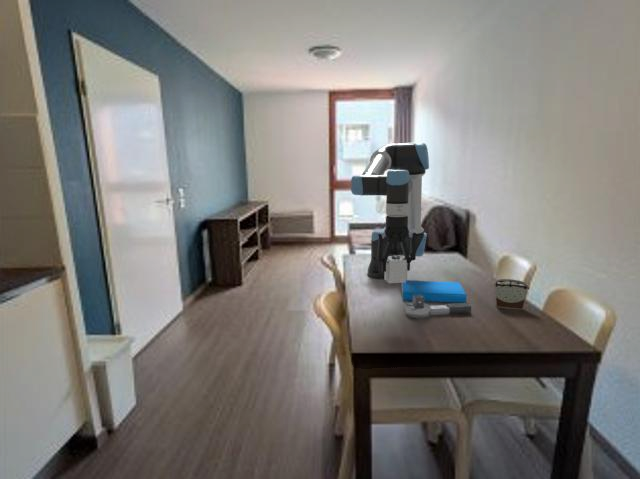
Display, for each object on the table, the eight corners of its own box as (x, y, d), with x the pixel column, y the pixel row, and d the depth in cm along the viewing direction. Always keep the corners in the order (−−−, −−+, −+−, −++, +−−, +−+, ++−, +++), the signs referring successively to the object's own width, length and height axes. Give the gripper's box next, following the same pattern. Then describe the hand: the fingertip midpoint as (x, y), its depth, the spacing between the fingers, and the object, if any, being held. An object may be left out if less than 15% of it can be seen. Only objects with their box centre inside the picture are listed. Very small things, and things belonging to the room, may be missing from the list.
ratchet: (402, 310, 146) (402, 292, 145) (462, 307, 148) (464, 290, 147) (409, 319, 138) (410, 300, 136) (474, 316, 140) (475, 298, 138)
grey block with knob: (385, 278, 140) (385, 254, 138) (401, 277, 140) (401, 254, 138) (389, 283, 134) (389, 258, 132) (405, 282, 134) (406, 258, 132)
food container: (524, 304, 151) (527, 280, 149) (527, 310, 145) (529, 284, 143) (490, 301, 155) (492, 277, 153) (491, 306, 149) (493, 281, 147)
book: (401, 280, 173) (459, 281, 169) (400, 289, 174) (458, 290, 170) (402, 292, 156) (467, 293, 152) (402, 302, 157) (466, 304, 153)
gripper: (371, 217, 128) (371, 283, 132) (427, 216, 129) (425, 281, 134) (367, 214, 135) (367, 277, 140) (420, 213, 136) (418, 275, 141)
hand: (395, 279), depth 137 cm, fingers closed on grey block with knob, 6 cm apart
